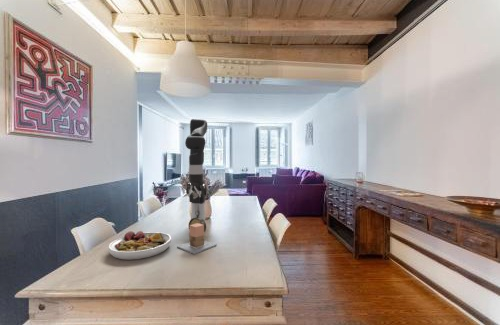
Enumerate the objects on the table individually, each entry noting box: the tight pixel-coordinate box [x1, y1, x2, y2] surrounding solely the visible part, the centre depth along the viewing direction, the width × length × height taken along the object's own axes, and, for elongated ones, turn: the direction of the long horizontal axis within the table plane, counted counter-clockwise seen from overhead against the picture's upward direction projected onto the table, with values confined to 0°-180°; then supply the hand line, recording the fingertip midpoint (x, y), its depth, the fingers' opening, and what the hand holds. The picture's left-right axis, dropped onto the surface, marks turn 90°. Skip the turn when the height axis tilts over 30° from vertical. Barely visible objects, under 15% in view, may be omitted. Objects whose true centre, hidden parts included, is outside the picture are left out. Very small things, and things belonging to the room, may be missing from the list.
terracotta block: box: [188, 223, 205, 237], centre depth 131 cm, size 6×6×6 cm
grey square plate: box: [176, 239, 217, 255], centre depth 131 cm, size 15×15×1 cm
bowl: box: [108, 230, 172, 261], centre depth 128 cm, size 30×30×8 cm
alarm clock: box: [188, 211, 207, 233], centre depth 148 cm, size 11×5×16 cm, turn 62°
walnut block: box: [189, 234, 205, 248], centre depth 131 cm, size 6×6×6 cm
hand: (196, 202), depth 131 cm, fingers open, 8 cm apart
